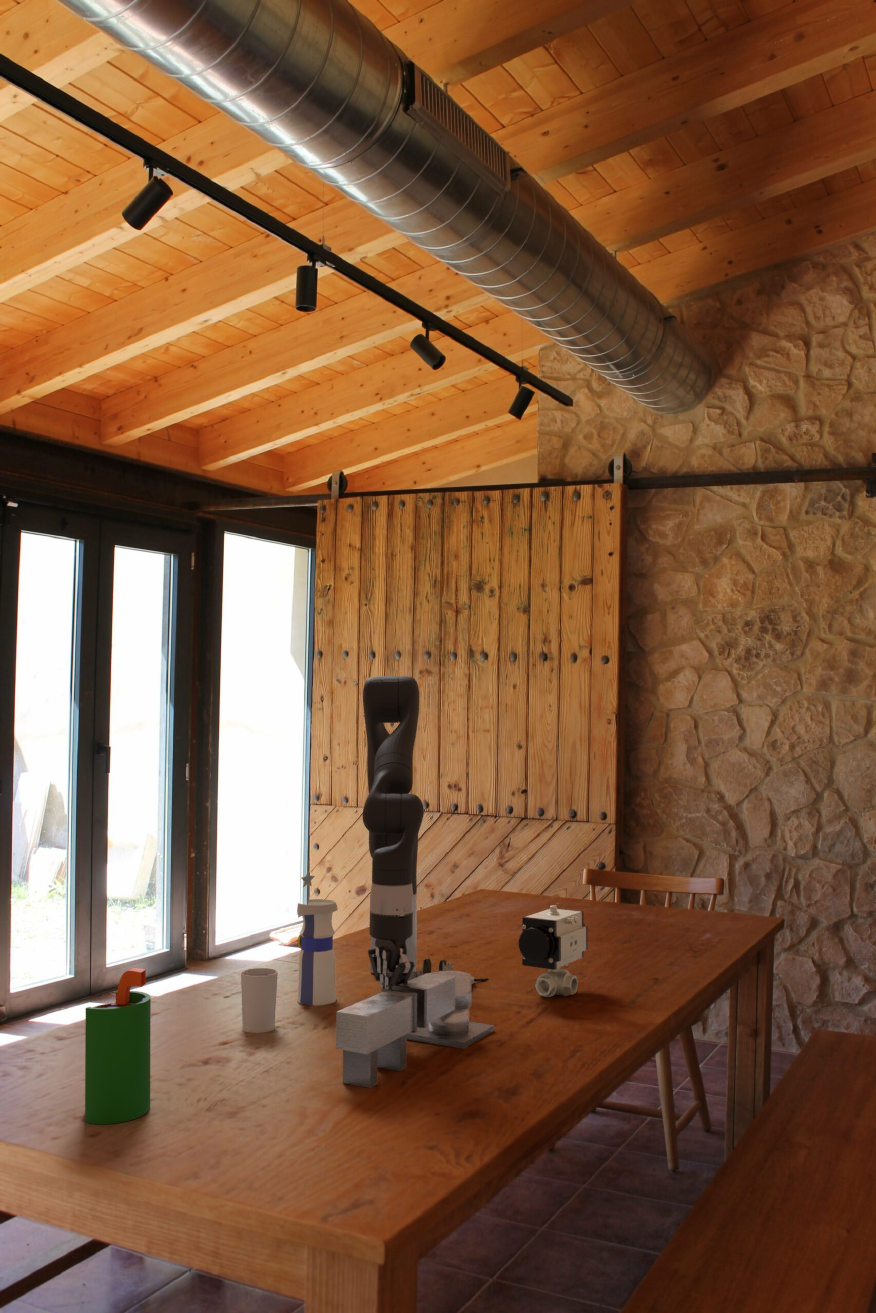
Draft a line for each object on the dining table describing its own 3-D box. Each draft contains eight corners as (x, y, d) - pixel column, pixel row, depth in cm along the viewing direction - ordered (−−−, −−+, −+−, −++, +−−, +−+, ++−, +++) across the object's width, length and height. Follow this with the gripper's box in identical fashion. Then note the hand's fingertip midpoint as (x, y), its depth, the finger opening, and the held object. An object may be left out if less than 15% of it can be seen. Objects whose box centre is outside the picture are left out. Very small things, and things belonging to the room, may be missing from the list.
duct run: (368, 1091, 164) (369, 1014, 165) (334, 1085, 167) (334, 1009, 168) (416, 1064, 177) (417, 992, 178) (383, 1058, 180) (384, 988, 181)
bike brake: (457, 998, 216) (488, 990, 234) (458, 962, 217) (489, 958, 236) (393, 992, 221) (428, 986, 239) (395, 958, 222) (430, 953, 241)
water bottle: (285, 1002, 215) (287, 874, 216) (310, 993, 222) (311, 869, 224) (320, 1008, 211) (321, 877, 212) (344, 998, 219) (345, 872, 220)
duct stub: (402, 1038, 191) (402, 1009, 191) (434, 1021, 202) (435, 994, 202) (463, 1048, 186) (463, 1018, 186) (493, 1030, 196) (493, 1002, 196)
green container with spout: (93, 1099, 160) (96, 961, 161) (155, 1097, 161) (158, 960, 162) (76, 1125, 150) (80, 977, 151) (143, 1123, 151) (146, 976, 152)
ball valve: (555, 1006, 213) (555, 914, 214) (517, 1000, 217) (517, 910, 218) (594, 987, 228) (593, 901, 229) (557, 982, 232) (557, 898, 233)
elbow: (439, 997, 199) (439, 962, 200) (478, 1002, 196) (479, 967, 196) (387, 1022, 183) (387, 984, 183) (429, 1028, 179) (429, 990, 179)
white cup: (262, 1020, 202) (263, 966, 202) (284, 1028, 197) (285, 972, 198) (232, 1027, 197) (233, 971, 198) (253, 1035, 193) (254, 978, 193)
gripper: (354, 904, 193) (352, 1003, 193) (390, 917, 182) (388, 1022, 181) (392, 900, 197) (390, 997, 197) (429, 913, 186) (427, 1016, 185)
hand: (389, 1009), depth 189 cm, fingers closed
